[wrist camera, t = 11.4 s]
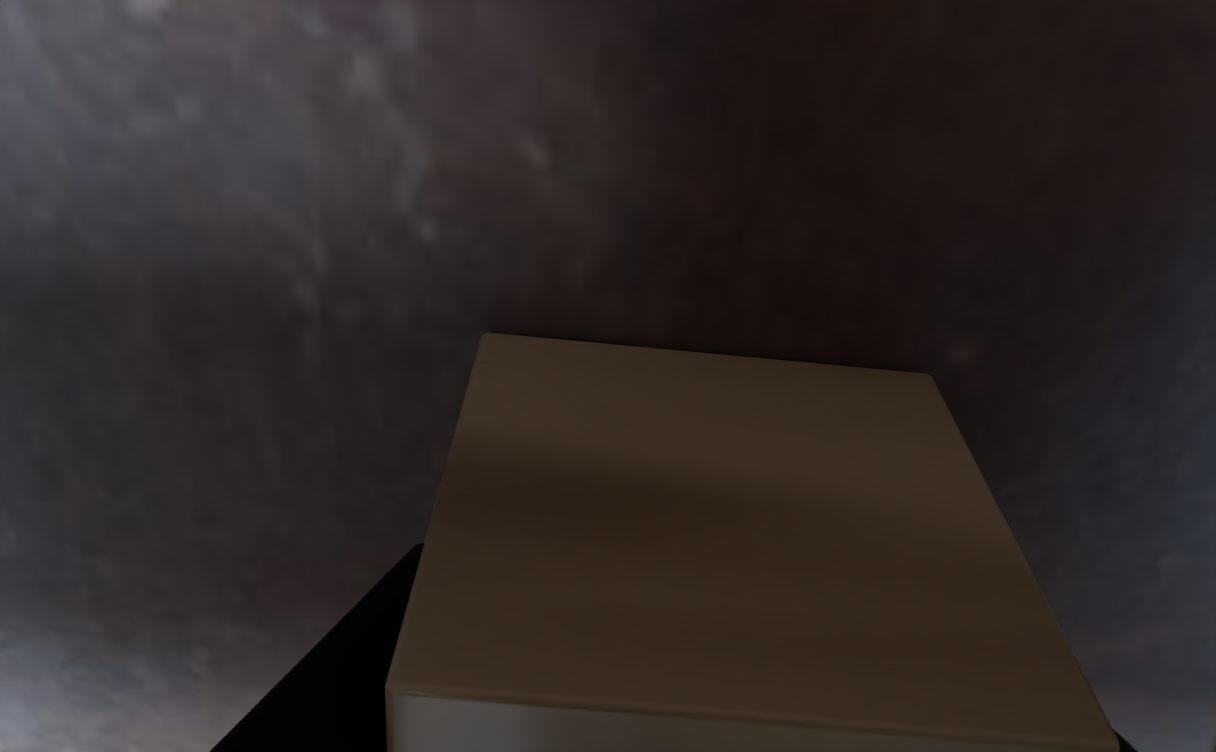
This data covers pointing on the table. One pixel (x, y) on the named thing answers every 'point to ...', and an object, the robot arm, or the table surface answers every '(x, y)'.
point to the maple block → (721, 569)
